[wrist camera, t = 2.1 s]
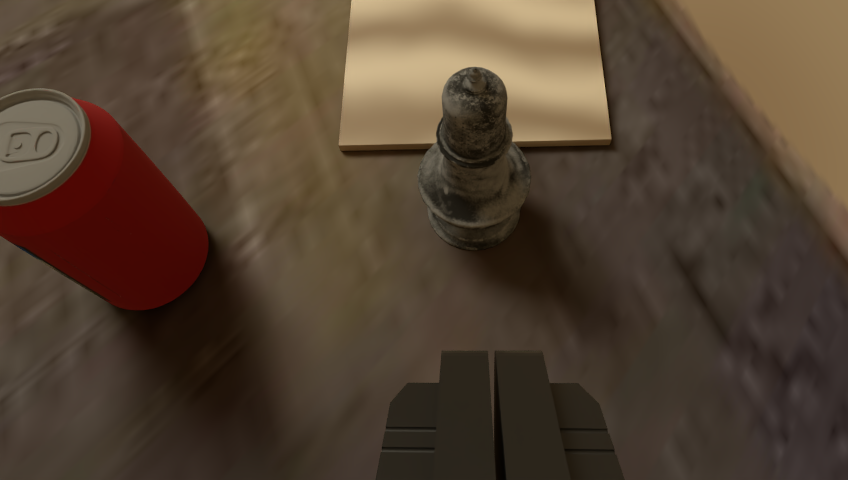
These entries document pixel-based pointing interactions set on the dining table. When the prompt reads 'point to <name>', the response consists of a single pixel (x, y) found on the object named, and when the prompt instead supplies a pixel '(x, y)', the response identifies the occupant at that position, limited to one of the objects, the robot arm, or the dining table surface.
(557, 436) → the robot arm
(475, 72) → the grey chess piece
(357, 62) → the birch board
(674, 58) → the dining table surface
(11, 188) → the beverage can
